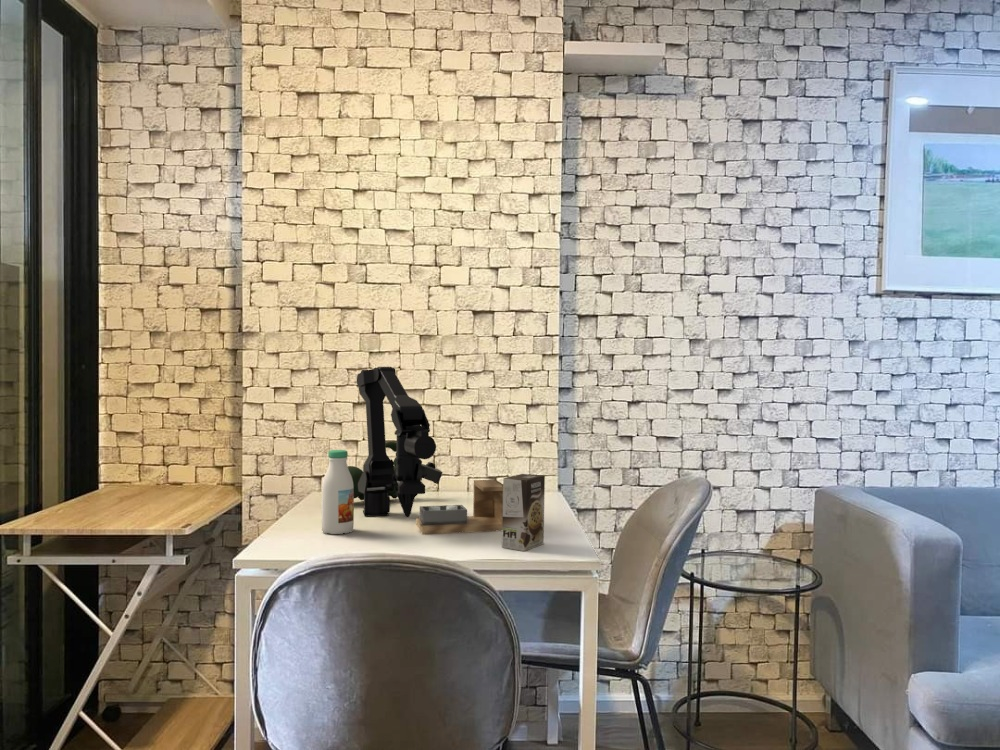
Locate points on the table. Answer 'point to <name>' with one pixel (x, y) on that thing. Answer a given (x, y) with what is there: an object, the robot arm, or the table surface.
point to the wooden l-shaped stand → (476, 511)
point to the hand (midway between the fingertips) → (407, 516)
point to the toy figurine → (358, 472)
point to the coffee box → (523, 511)
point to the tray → (443, 515)
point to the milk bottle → (337, 495)
